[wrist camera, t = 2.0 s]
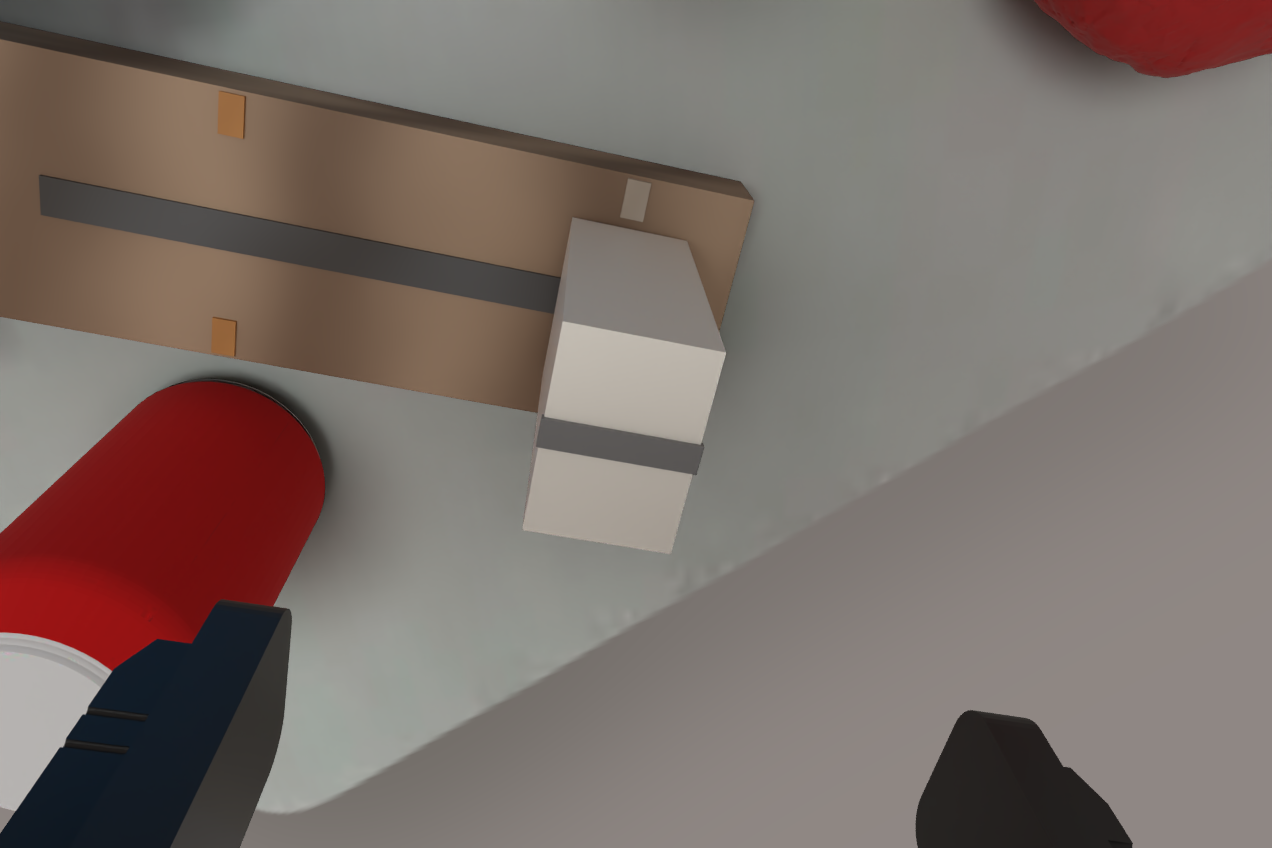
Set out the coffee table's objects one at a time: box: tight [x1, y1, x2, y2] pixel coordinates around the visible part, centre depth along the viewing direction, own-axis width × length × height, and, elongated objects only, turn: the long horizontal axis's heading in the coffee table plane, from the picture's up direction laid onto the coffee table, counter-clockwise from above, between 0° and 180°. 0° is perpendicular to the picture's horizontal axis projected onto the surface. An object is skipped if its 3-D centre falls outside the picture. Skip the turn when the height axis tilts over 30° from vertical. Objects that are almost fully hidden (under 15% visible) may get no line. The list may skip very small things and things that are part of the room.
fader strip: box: [0, 21, 754, 413], centre depth 25 cm, size 20×7×3 cm, turn 78°
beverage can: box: [0, 379, 325, 811], centre depth 24 cm, size 6×6×12 cm
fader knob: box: [522, 217, 726, 554], centre depth 21 cm, size 3×4×8 cm
